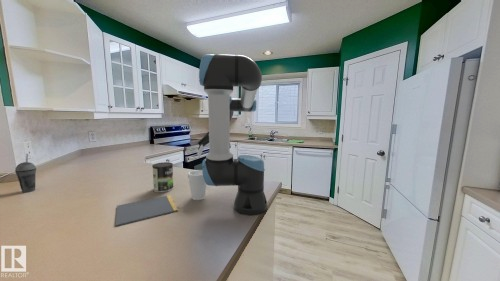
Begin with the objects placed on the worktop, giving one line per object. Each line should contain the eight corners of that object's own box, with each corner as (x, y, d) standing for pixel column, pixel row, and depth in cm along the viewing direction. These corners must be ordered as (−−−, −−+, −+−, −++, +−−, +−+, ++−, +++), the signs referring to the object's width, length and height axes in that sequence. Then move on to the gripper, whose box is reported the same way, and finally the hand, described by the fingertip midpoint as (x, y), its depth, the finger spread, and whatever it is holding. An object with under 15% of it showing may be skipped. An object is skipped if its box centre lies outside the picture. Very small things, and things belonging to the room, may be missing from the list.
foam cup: (210, 194, 100) (210, 170, 98) (204, 202, 91) (204, 175, 89) (193, 193, 101) (192, 169, 99) (185, 200, 92) (184, 174, 90)
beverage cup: (16, 192, 99) (10, 154, 96) (36, 187, 105) (31, 152, 103) (20, 194, 96) (14, 156, 93) (41, 190, 102) (36, 153, 100)
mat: (177, 211, 82) (177, 209, 82) (115, 226, 70) (115, 224, 70) (169, 196, 97) (169, 194, 97) (117, 206, 85) (117, 205, 85)
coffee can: (177, 186, 110) (176, 162, 108) (166, 193, 100) (165, 167, 98) (161, 184, 112) (160, 161, 110) (149, 191, 102) (147, 166, 100)
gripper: (241, 132, 115) (231, 162, 103) (205, 130, 123) (192, 158, 111) (238, 124, 109) (227, 154, 97) (201, 122, 117) (186, 151, 105)
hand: (209, 156), depth 104 cm, fingers open, 13 cm apart
